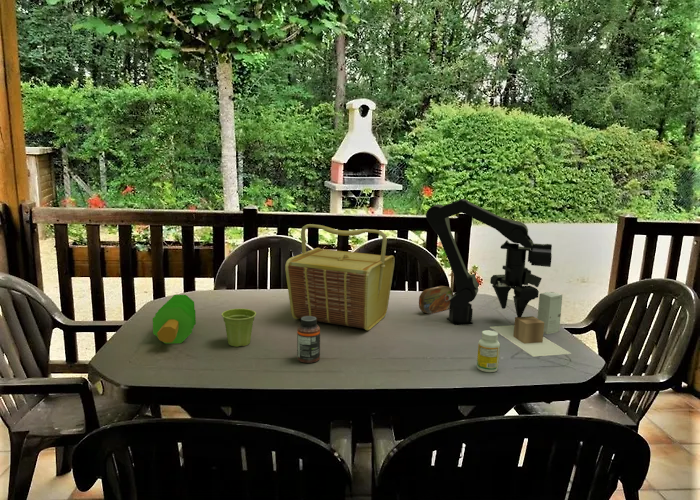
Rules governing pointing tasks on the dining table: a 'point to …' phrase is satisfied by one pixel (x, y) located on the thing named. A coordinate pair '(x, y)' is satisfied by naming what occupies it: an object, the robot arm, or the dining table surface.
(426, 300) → the tin
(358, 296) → the picnic basket
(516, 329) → the tan cube
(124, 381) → the dining table surface
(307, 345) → the supplement bottle
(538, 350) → the cream mat
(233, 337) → the plant pot
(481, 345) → the supplement bottle
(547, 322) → the skincare box
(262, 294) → the dining table surface
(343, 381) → the dining table surface
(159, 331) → the decorative tree
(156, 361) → the dining table surface
